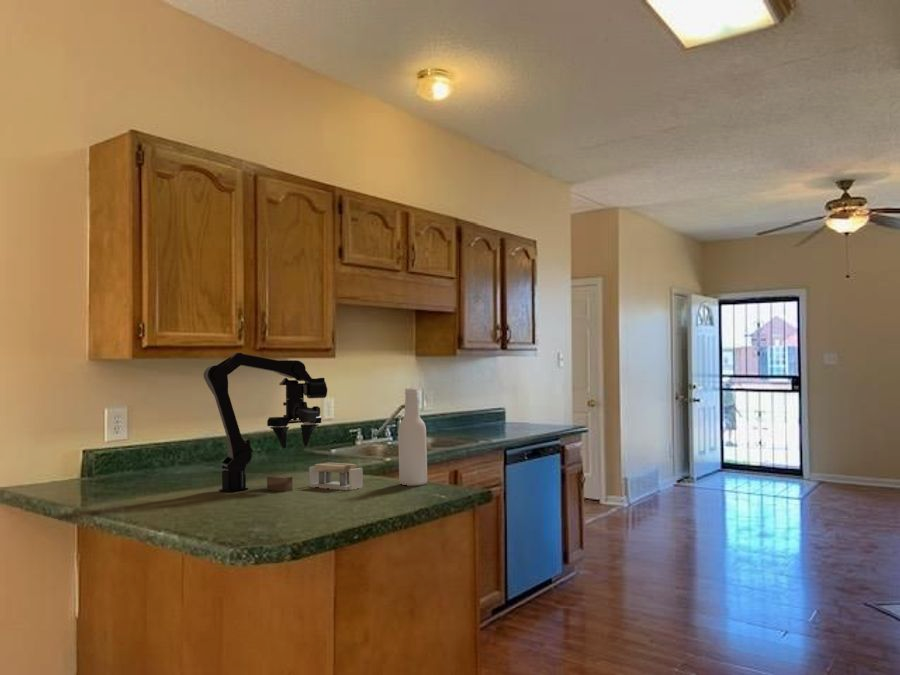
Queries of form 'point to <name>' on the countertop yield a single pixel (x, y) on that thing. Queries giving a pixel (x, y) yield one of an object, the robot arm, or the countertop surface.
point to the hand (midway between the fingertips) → (295, 447)
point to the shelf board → (334, 467)
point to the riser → (279, 483)
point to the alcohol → (412, 443)
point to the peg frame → (352, 482)
